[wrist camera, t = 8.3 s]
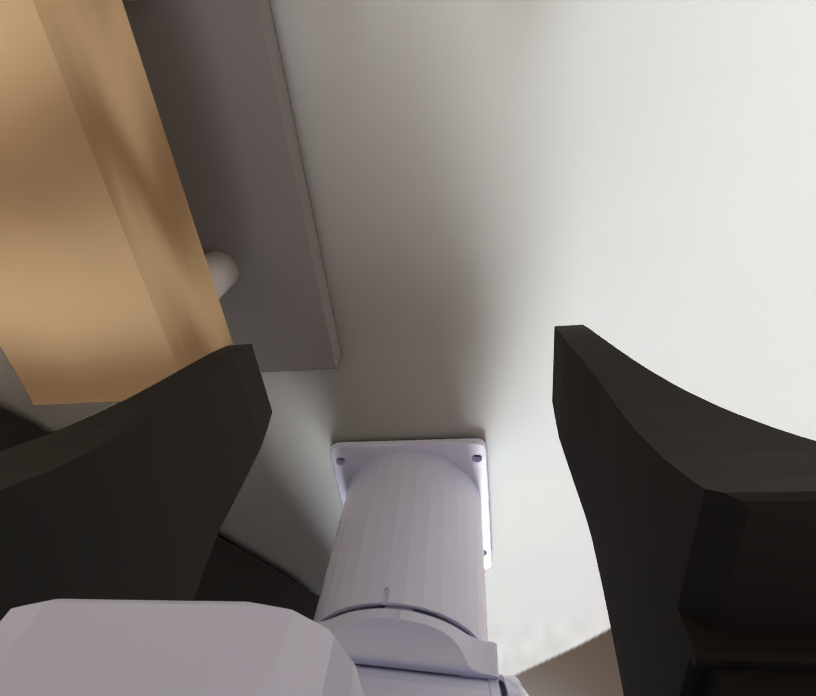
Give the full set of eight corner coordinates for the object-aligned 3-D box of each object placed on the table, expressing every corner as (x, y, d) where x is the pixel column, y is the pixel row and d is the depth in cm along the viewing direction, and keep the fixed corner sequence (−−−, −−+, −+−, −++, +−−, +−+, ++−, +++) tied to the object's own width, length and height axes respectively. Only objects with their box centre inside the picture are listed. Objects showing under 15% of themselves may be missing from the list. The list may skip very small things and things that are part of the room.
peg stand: (341, 355, 24) (319, 408, 20) (127, 366, 25) (70, 418, 21) (214, -267, 14) (128, -383, 10) (-121, -188, 15) (-301, -266, 12)
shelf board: (233, 344, 19) (189, 398, 16) (100, 352, 20) (34, 405, 17) (68, -164, 12) (-63, -240, 9) (-124, -122, 13) (-305, -178, 10)
